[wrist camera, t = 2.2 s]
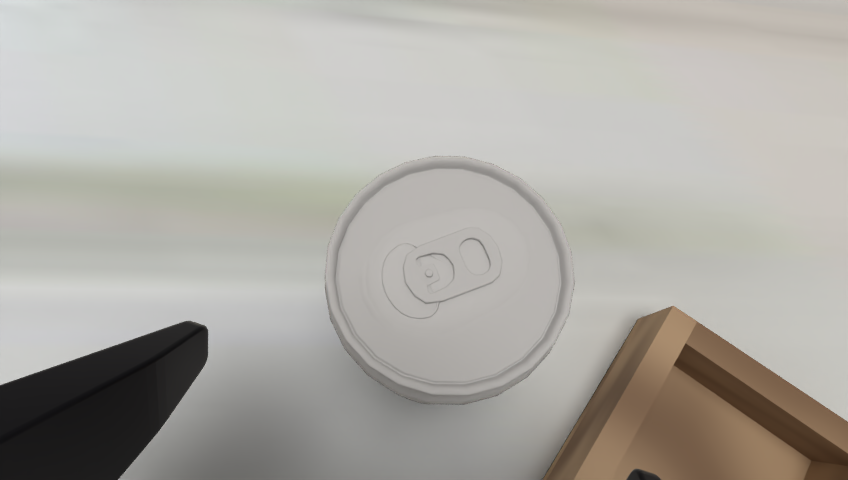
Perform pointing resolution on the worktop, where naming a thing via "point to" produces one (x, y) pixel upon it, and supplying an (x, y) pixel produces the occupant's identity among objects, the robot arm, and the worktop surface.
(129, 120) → the worktop surface
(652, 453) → the walnut socket
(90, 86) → the worktop surface
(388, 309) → the beverage can
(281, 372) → the worktop surface
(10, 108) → the worktop surface
